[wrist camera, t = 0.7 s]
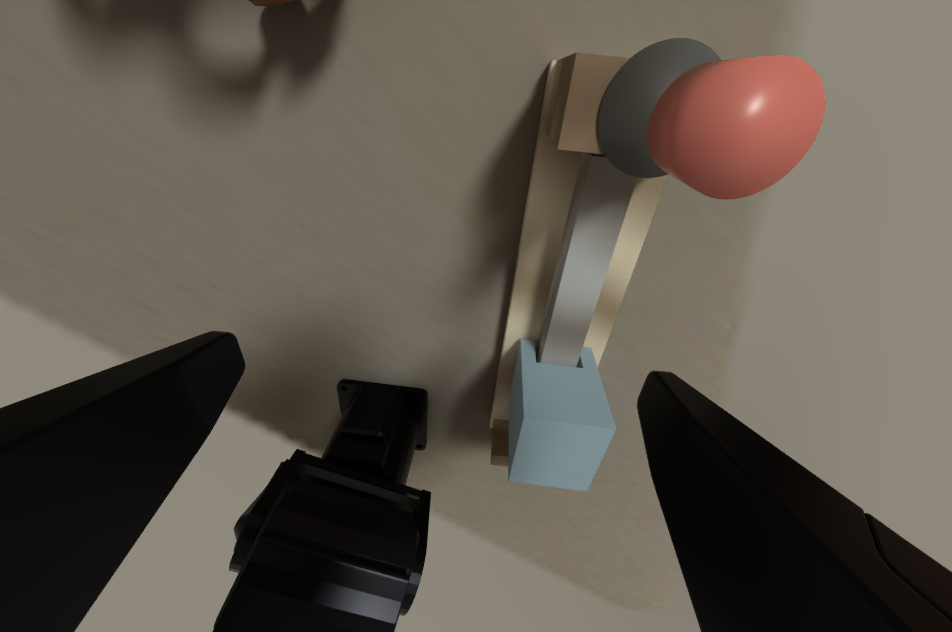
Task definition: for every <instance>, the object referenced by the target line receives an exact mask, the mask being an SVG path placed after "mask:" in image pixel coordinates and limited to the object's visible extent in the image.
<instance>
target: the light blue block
mask: <svg viewBox="0 0 952 632" xmlns="http://www.w3.org/2000/svg"><path fill="white" fill-rule="evenodd" d="M615 430H616V427H615V424H614V420H613V417H612V414H611V411H610V407H609V404H608V401H607V397H606V394H605V391H604V388H603V384H602V381H601V378H600V374H599V371H598V368H597V365H596V361H595V358H594V355H593V351H592V348H591V347H583V348H582V351H581V354H580V357H579V360H578V363H577V366H576V367H569V366H561V365H553V364H544V363H536V355H535V344H534V340H526V339H521V340H520V345H519V350H518V355H517V360H516V365H515V370H514V375H513V380H512V385H511V390H510V395H509V468H508V481H510V482H518V483H526V484H534V485H541V486H549V487H557V488H565V489H573V490H580V491H588V489H589V487H590V485H591V482H592V480H593V478H594V476H595V474H596V472H597V469H598V467H599V465H600V463H601V461H602V459H603V456H604V454H605V452H606V450H607V448H608V446H609V443H610V441H611V439H612V437H613V435H614V433H615Z"/></svg>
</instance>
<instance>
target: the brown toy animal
mask: <svg viewBox="0 0 952 632" xmlns="http://www.w3.org/2000/svg"><path fill="white" fill-rule="evenodd" d="M249 1H251V2H252V3H253V4H254V5H256V6H273V5H280V4H284V3H288V2H292V1H294V0H249Z"/></svg>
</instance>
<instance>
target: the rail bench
mask: <svg viewBox="0 0 952 632" xmlns="http://www.w3.org/2000/svg"><path fill="white" fill-rule="evenodd" d="M712 61H721V59H720V58H719V56H718V55H717V54H716V53H715V52H714V51H713V50H712V49H711V48H710V47H708V46H707V45H705V44H704V43H701V42H699V41H696V40H692V39H687V38H674V39H667V40H664V41H660V42H657V43H655V44H652V45H650V46H648V47H646V48H644V49H643V50H641V51H639V52H638V53H637V54H635V55H634V56H633V57H631V58H623V57H613V56H604V55H595V54H586V53H574V54H572V55H570V56H567V57H565V58H563V59H560V60H558V61H555V60H552V61H550V64H549V70H548V76H547V82H546V88H545V94H544V100H543V106H542V112H541V118H540V124H539V130H538V136H537V142H536V148H535V154H534V160H533V166H532V172H531V178H530V184H529V190H528V196H527V202H526V208H525V214H524V220H523V225H522V231H521V237H520V243H519V249H518V255H517V261H516V267H515V273H514V279H513V285H512V291H511V297H510V303H509V309H508V315H507V321H506V327H505V333H504V339H503V345H502V351H501V357H500V363H499V369H498V375H497V381H496V387H495V393H494V399H493V405H492V411H491V417H490V428H493V429H492V448H491V465H499V466H507V467H509V395H510V390H511V385H512V380H513V375H514V370H515V365H516V360H517V355H518V350H519V345H520V340H521V339H526V340H534V344H535V355H536V363H544V364H553V365H561V366H569V367H576V366H577V363H578V360H579V357H580V354H581V351H582V348H583V347H591V348H592V351H593V355H594V358H595V361H596V365H597V368H598V365H599V362H600V360H601V357H602V354H603V351H604V349H605V346H606V343H607V341H608V338H609V335H610V332H611V330H612V327H613V324H614V321H615V319H616V316H617V313H618V311H619V308H620V305H621V302H622V300H623V297H624V294H625V291H626V289H627V286H628V283H629V281H630V278H631V275H632V272H633V270H634V267H635V264H636V261H637V259H638V256H639V253H640V251H641V248H642V245H643V242H644V240H645V237H646V234H647V232H648V229H649V226H650V223H651V221H652V218H653V215H654V212H655V210H656V207H657V204H658V202H659V199H660V196H661V193H662V191H663V188H664V185H665V182H666V180H667V177H668V173H666V172H664V171H663V170H662V169H660V168H659V167H658V166H657V165H656V163H655V162H654V160H653V159H652V157H651V154H650V152H649V148H648V142H647V132H648V125H649V121H650V117H651V115H652V112H653V110H654V108H655V106H656V104H657V102H658V100H659V99H660V97H661V95H662V94H663V93H664V92H665V90H666V89H667V88H668V87H669V86H670V85H671V84H672V83H673V82H674V81H675V80H676V79H677V78H678V77H680V76H681V75H682V74H684V73H685V72H687V71H688V70H690V69H692V68H694V67H696V66H698V65H701V64H704V63H708V62H712Z"/></svg>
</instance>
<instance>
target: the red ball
mask: <svg viewBox="0 0 952 632" xmlns="http://www.w3.org/2000/svg"><path fill="white" fill-rule="evenodd" d="M824 108H825V93H824V89H823V85H822V82H821V80H820V78H819V76H818V74H817V73H816V71H815V70H814V69H813V68H812V67H811V66H810V65H808V64H807V63H805V62H804V61H802V60H800V59H797V58H795V57H790V56H784V55H773V56H763V57H752V58H742V59H731V60H721V61H712V62H708V63H704V64H701V65H698V66H696V67H694V68H692V69H690V70H688V71H687V72H685V73H684V74H682V75H681V76H680V77H678V78H677V79H676V80H675V81H674V82H673V83H672V84H671V85H670V86H669V87H668V88H667V89H666V90H665V92H664V93H663V94H662V95H661V97H660V99H659V100H658V102H657V104H656V106H655V108H654V110H653V112H652V115H651V117H650V121H649V125H648V132H647V142H648V148H649V152H650V154H651V157H652V159H653V160H654V162H655V163H656V165H657V166H658V167H659V168H660V169H662V170H663V171H664V172H666V173H668V174H669V175H671V176H673V177H675V178H676V179H678V180H680V181H681V182H683V183H685V184H686V185H688V186H690V187H692V188H693V189H695V190H697V191H698V192H700V193H702V194H704V195H706V196H709V197H712V198H717V199H737V198H742V197H746V196H749V195H752V194H755V193H757V192H760V191H762V190H764V189H766V188H768V187H769V186H771V185H773V184H774V183H776V182H777V181H779V180H780V179H781V178H783V177H784V176H785V175H786V174H788V173H789V171H791V170H792V169H793V168H794V167H795V166H796V165H797V164H798V162H799V161H800V160H801V159H802V158H803V157H804V155H805V154H806V153H807V151H808V150H809V148H810V146H811V145H812V143H813V142H814V140H815V138H816V136H817V134H818V131H819V129H820V126H821V123H822V119H823V115H824Z"/></svg>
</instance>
